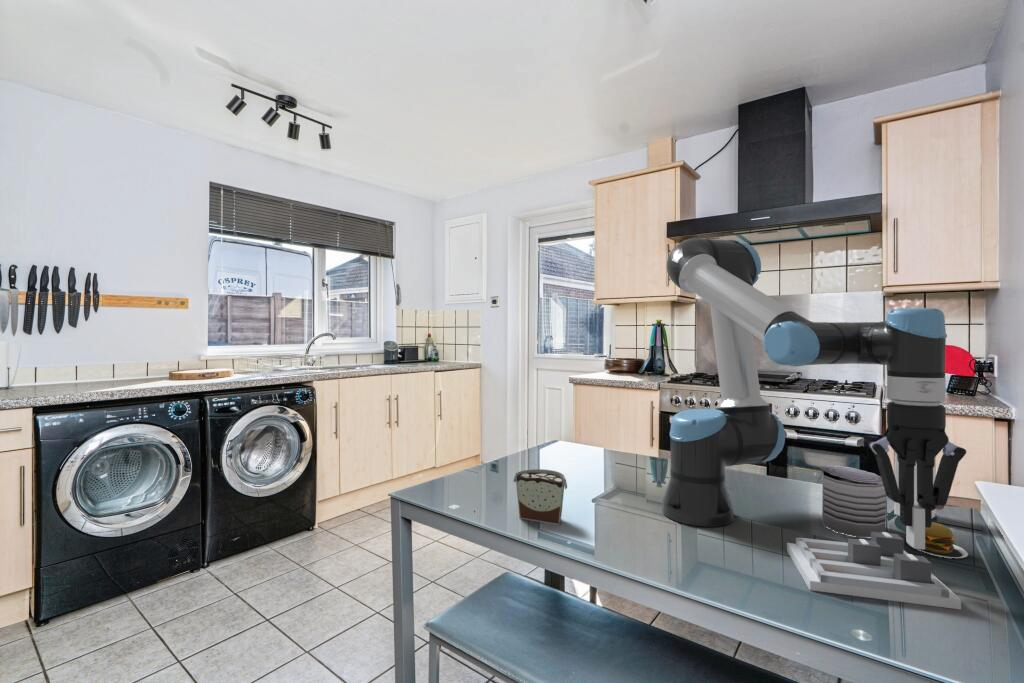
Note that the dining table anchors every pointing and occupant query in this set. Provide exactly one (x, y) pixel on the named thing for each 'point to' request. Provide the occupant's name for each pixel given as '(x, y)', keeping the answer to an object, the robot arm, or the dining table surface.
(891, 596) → the panel
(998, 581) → the dining table surface
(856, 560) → the breaker mid
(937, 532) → the hamburger
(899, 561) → the breaker near
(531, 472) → the food container
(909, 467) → the robot arm
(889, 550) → the breaker far
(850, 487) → the can
